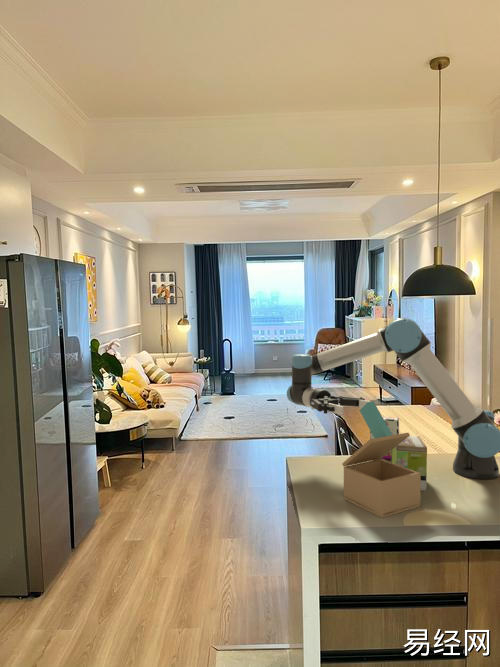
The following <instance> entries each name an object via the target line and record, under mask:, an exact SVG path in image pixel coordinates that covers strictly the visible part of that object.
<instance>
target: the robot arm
mask: <svg viewBox="0 0 500 667" xmlns="http://www.w3.org/2000/svg"><path fill="white" fill-rule="evenodd" d="M431 346H432V343H431V341H430V340H429V339H428V337H427V336H426V334H424V332H423V331H422V329H421V328H420V326H419V325H418V324H417V322H416V321H414V320H412V319H410V318H408V317H399V318H396V319H394V320H392V321H391V322H390V323H389V324H388V325H386V326H384V327H382V328H379V329H378V330H377V332H374V333H372V334H369V335H367V336H363V337H361V338H359V339H355V340H353V341H349V342H347V343H344V344H341V345H338V346H335V347H333V348H329V349H327V350H324V351H320V352H318V353H317V354H315V353H314V354H313V355H311V354H306V353H303V354H300V353H299V354H293V355H292V358H291V384H290V385H289V386H288V388H287V390H286V397H287V400H288V401H289V402H291V403H293V404H295V405H297V406H303V407H307V408H310V409H311V410H316V411H318V412H320V413H321V412H323V414H328V412H329V413H332V414H335V415H340V416H344V406H345V407H358V408H360V409H361V408H362V407H363V406H364V405H365V404H366V403H367V402H371V401H369V400H366V399H365V398H363V397H361V396H360V398H359V397H352V396H351V397H350V396H344V395H343V396H342V395H339V396H335V395H331V393H330V391H328V390H326V389H322V388H319V387H318V388H317V387H313V386H312V376H313V375H316V374H319V373H323V372H324V371H327V370H331V369H334V368H337V367H340V366H343V365H346V364H349V363H352V362H355V361H357V360H361V359H363V358H366V357H370V356H372V355H376V354H380V353H382V352H385V353H390V352H394V353H395V355H396V356H397V357H398V358H399V360H401V362H402V363H406V364H409V365H410V367H411V368H412V369H413V371H414V372H415V373H416V375H417V376H418V377H419V378H420V379H421V382H423V384H424V386H426V388H427V390H429V392H430V393H431V395H432V396H433V397H434V398H435V400H436V401H437V403H438V404H439V405H440V406H441V408H442V409H443V411H445V413H446V414H447V415H448V417H449V418H450V419H451V428H452V430H453V431H454V432H455V433H456V435H457V446H458V447H457V452H456V453H455V454H456V455H455V457H454V459H453V460H454V461H453V463H452V471H453V472H454V473H455V474H457V475H459V476H464V477H466V478H471V479H478V480H493V479H497V478H498V477H499V476H500V468H499V464H498V462H497V460H496V457H495V455H498V453H499V452H500V429H499V428H498V427H497V426H496V425H495V414H494V412H493V411H491V410H485V409H484V410H483V408H480V407H476V406H475V405H474V404H473V403H472V401H471V400H470V398H468V396H467V395H466V394H465V393H464V391H463V390H462V388H461V387H460V386H459V385H458V383H457V382H456V381H455V379H454V378H453V377H452V376H451V374H450V372H448V371H447V369H446V368H445V366H444V365H443V364H442V363H441V362H440V360H439V358H437V356H436V355H435V353H434V352H433V351H432V349H431ZM374 403H375V401H374ZM375 404H376V403H375Z"/></svg>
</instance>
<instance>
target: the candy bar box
mask: <svg viewBox="0 0 500 667" xmlns="http://www.w3.org/2000/svg"><path fill="white" fill-rule="evenodd" d="M382 417H383V419H384V421H385V423H386V424H387V426H388V428H389V430H390V432H391V433H392V435H397V434H400V418H399V417H391V416H382ZM369 433H370V434H369V438H370V439H374V437H373V435H372V433H371V431H369ZM370 439H369V440H370ZM391 453H392V450H391V451H390V452H389V453H387V454H386V455H385V456H383V457H382V458H381V459H382V460H386V461H388V460H390V461H391Z"/></svg>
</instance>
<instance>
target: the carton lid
mask: <svg viewBox="0 0 500 667" xmlns="http://www.w3.org/2000/svg"><path fill="white" fill-rule="evenodd" d="M374 402H375V401H370V402H367V403H366V404H365V405H364V406H363V407H362V408H360V409H359V412H360V415H361V416H362V418H363V419H364V422H365V424H366V425H367V427H368V429H369V430H370V431H371V433H372V435H373V437H374V439H369V440H367V441H365V443H364V444H363V445H362V446H360V447H359V449H357V450H355V452H354V453H353V454H351V455H350V456H349V457H348V458H347V459H346V460H345V461H344V462H342V464H341V465H342V466H343V467H345V466H350V465H355V464H360V463H364V462H369V461H374V460H378V459H381V458H382V457H383V456H385V455H386V454H387V453H389V452H390V451H391V450H392V449H394V448H395V447H396V446H397V445H399V444H400V443H401V442H402V441H404V440H405V439H406V438H407V437H409V436H411V434H410V433H409V432H404V433H399V434H397V435H392V433H391V432H390V430H389V428H388V426H387V424H386V423H385V421H384V419H383V417H384V416H383V415H382V414H381V412H380V410H379V408H378V406H377V404H376V403H374ZM370 431H369V432H370Z"/></svg>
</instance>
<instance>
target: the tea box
mask: <svg viewBox="0 0 500 667" xmlns="http://www.w3.org/2000/svg"><path fill="white" fill-rule="evenodd" d="M390 462H391V463H394V464H396V465H399V466H402V467H405V468H408V469H411V470H413V471H416V472H419V473H421V486H420V492H421V491H424V492H425V491H426V490H427V478H428V477H427V474H428V473H427V470H428V469H427V468H428V447H427V445H426V443H425V442H424V441H423V439H422V438H421V436H419V435H418V436H417V435H416V436H415V435H410V436H409V437H407V438H406V439H405V440H404V441H402V442H401V443H400V444H399V445H397V446H396V447H395V448H394V449H392V453H391V460H390Z"/></svg>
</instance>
